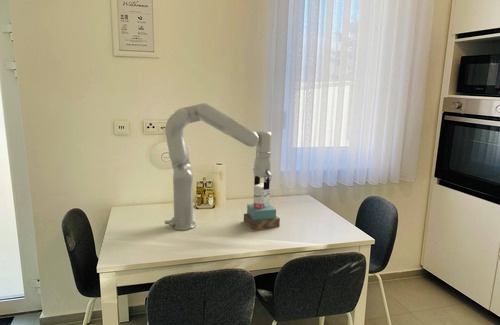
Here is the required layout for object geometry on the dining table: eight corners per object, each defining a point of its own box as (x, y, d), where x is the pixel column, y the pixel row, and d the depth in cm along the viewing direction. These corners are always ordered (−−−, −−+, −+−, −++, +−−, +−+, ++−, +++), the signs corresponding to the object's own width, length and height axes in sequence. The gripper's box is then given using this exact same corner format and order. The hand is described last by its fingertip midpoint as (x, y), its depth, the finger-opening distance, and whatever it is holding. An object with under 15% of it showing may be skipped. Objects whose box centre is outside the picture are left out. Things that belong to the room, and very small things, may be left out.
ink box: (260, 209, 192) (260, 187, 190) (252, 207, 195) (253, 185, 193) (269, 205, 199) (270, 184, 196) (262, 203, 202) (263, 182, 199)
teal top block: (253, 220, 190) (254, 211, 189) (247, 213, 201) (247, 204, 200) (275, 218, 194) (276, 209, 193) (267, 211, 205) (268, 202, 204)
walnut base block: (256, 231, 189) (256, 222, 188) (243, 222, 201) (243, 213, 200) (279, 227, 195) (279, 218, 194) (265, 219, 207) (266, 210, 206)
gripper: (248, 152, 198) (247, 183, 201) (265, 158, 183) (263, 191, 186) (261, 152, 201) (259, 182, 204) (278, 157, 186) (276, 190, 190)
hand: (261, 187), depth 195 cm, fingers open, 9 cm apart
